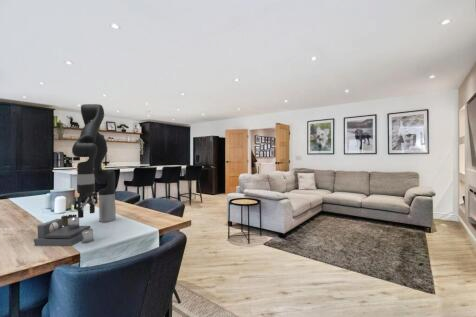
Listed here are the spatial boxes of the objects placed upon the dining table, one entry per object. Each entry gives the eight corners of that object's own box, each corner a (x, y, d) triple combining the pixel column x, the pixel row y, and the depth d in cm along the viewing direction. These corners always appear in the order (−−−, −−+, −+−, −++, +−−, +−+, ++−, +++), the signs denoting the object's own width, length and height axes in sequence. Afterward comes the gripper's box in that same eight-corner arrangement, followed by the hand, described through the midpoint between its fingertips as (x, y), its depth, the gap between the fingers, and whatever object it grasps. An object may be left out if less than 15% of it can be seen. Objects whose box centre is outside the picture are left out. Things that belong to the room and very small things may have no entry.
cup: (63, 228, 140) (63, 214, 140) (78, 226, 143) (78, 213, 143) (59, 232, 133) (59, 217, 133) (74, 230, 136) (74, 216, 136)
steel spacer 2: (86, 239, 122) (85, 229, 122) (95, 239, 122) (95, 229, 122) (79, 243, 117) (79, 232, 117) (89, 243, 117) (89, 232, 117)
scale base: (60, 234, 130) (59, 217, 130) (92, 234, 130) (92, 217, 129) (34, 245, 114) (33, 227, 114) (71, 245, 114) (70, 227, 113)
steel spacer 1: (65, 229, 123) (65, 219, 123) (72, 226, 128) (72, 217, 128) (75, 229, 123) (74, 219, 123) (81, 226, 128) (81, 216, 128)
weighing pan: (66, 227, 129) (66, 225, 129) (90, 227, 129) (90, 225, 129) (43, 237, 114) (43, 235, 114) (69, 237, 114) (69, 235, 114)
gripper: (88, 181, 126) (88, 211, 126) (68, 184, 112) (68, 219, 112) (102, 181, 126) (102, 211, 126) (83, 184, 111) (84, 219, 112)
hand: (86, 215), depth 119 cm, fingers open, 8 cm apart
